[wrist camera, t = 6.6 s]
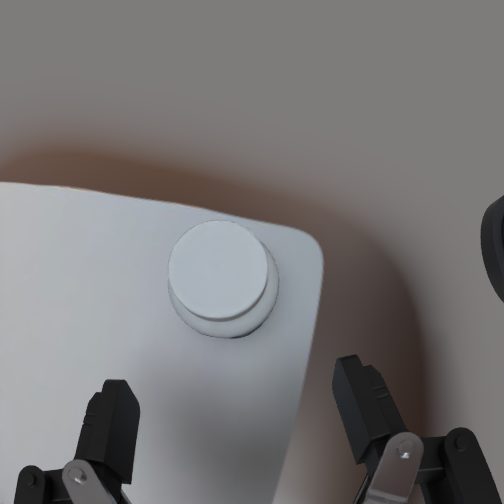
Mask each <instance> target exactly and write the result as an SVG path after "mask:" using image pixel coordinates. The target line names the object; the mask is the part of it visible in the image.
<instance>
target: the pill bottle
mask: <svg viewBox="0 0 504 504" xmlns="http://www.w3.org/2000/svg"><path fill="white" fill-rule="evenodd" d="M168 289H169V295H170V299H171V302H172V304H173V307H174V309H175V310H176V312H177V314H178V315H179V316H180V318H181V319H182V320H183V321H184V322H185V323H186V324H187V325H188V326H190V327H191V328H193V329H194V330H196V331H197V332H199V333H201V334H203V335H207V336H212V337H218V338H232V339H233V338H240V337H244V336H247V335H249V334H251V333H252V332H254V331H255V330H257V329H258V328H259V327H260V326H261V325H262V323H263V322H264V321H265V319H266V318H267V317H268V315H269V314H270V312H271V311H272V309H273V307H274V305H275V303H276V299H277V296H278V290H279V273H278V269H277V265H276V263H275V260H274V258H273V256H272V254H271V253H270V251H269V250H268V249H267V247H266V246H265V245H264V244H263V243H262V242H261V241H260V240H259V239H258V238H257V237H256V236H255V235H254V234H253V233H252V232H251V231H250V230H249V229H247V228H246V227H244V226H242V225H240V224H237V223H234V222H231V221H226V220H213V221H207V222H204V223H201V224H198V225H196V226H194V227H193V228H191V229H190V230H188V231H187V232H186V233H185V234H183V235H182V236H181V238H180V239H179V240H178V241H177V243H176V244H175V246H174V248H173V250H172V252H171V255H170V258H169V263H168Z"/></svg>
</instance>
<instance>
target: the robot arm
mask: <svg viewBox="0 0 504 504" xmlns="http://www.w3.org/2000/svg"><path fill="white" fill-rule="evenodd" d="M502 243H503V249H504V216H503V220H502ZM332 389H333V394H334V398H335V400H336V404H337V407H338V410H339V413H340V416H341V419H342V421H343V425H344V428H345V431H346V434H347V437H348V440H349V443H350V446H351V450H352V453H353V456H354V459H355V462H356V465H357V464H361V463H365V465H366V468H367V471H368V472H367V475H366V477H365V479H364V481H363V483H362V485H361V488H360V490H359V492H358V494H357V496H356V498H355V500H354V502H353V504H407V501H408V498H409V495H410V492H411V490H412V487H413V484H420V486H421V490H422V493H423V496H424V499H425V503H426V504H502V502H501V499H500V496H499V493H498V491H497V488H496V485H495V482H494V480H493V478H492V475H491V472H490V470H489V467H488V465H487V462H486V460H485V457H484V455H483V453H482V450H481V448H480V446H479V443H478V441H477V439H476V437H475V435H474V434H473V432H472V431H470V430H469V429H467V428H462V427H460V428H455V429H453V430H451V431H450V432H449V433H448V434H447V436H442V437H429V438H421V437H418V436H417V435H415V434H413V433H410V432H409V431H408V429H407V428H406V426H405V425H404V422H403V420H402V418H401V416H400V414H399V411H398V409H397V407H396V405H395V403H394V401H393V399H392V397H391V396H390V392H389V390H388V388H387V387H386V384H385V382H384V380H383V377H382V376H381V373H379V372H378V371H377V370H376V369H375V368H374V367H373V366H371V365H369V366H364V367H363V366H362V363H361V361H360V359H359V357H358V356H357V355H351V356H346V357H342V358H337V359H336V364H335V370H334V375H333V381H332ZM139 419H140V406H139V402H138V400H137V399H136V397H135V395H134V394H133V392H132V390H131V389H130V387H129V385H128V383H127V382H126V381H125V380H113V379H107V380H106V381H105V382H104V385H103V388H102V392H96V393H95V394H94V396H93V397H92V398H91V400H90V401H89V403H88V407H87V410H86V415H85V417H84V421H83V423H84V424H83V425H82V429H81V433H80V437H79V441H78V445H77V449H76V453H75V457H74V459H73V460H72V461H70V462H68V463H67V464H66V465H65V467H64V468H63V469H58V470H50V471H42V470H41V469H39V468H38V467H36V466H33V465H29V466H26V467H24V468H23V469H22V470H21V472H20V474H19V477H18V482H17V487H16V493H15V499H14V504H132V503H131V502H130V500H129V499H128V497H127V496H126V495H125V493H124V492H123V490H122V489H121V486H122V484H131V481H132V472H133V463H134V455H135V447H136V439H137V432H138V425H139Z"/></svg>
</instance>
